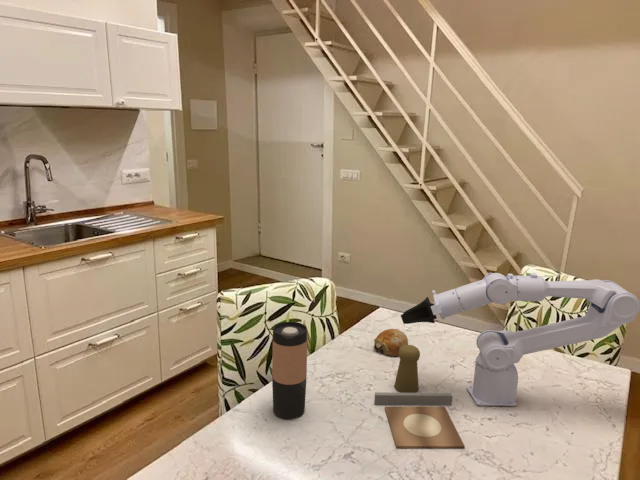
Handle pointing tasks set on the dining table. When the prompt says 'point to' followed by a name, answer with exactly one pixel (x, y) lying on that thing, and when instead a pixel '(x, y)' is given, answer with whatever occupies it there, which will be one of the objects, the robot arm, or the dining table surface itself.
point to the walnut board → (422, 427)
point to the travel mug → (289, 369)
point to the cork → (407, 370)
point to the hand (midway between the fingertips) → (403, 318)
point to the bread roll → (390, 342)
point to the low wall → (412, 398)
